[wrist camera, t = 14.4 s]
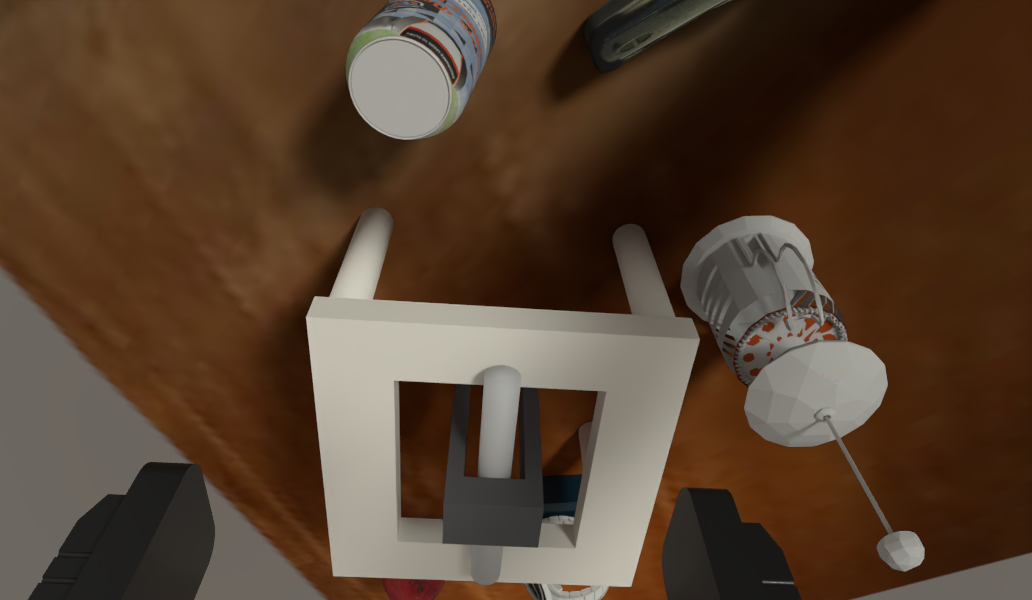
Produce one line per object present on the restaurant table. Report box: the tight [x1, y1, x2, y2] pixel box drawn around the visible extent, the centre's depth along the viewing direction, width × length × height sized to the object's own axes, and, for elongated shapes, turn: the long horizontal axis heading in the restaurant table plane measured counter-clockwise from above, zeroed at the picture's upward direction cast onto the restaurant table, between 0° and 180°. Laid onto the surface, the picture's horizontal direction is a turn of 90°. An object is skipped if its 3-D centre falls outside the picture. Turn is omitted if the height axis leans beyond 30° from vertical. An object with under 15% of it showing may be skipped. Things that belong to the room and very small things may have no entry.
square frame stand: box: [306, 207, 700, 587], centre depth 48 cm, size 21×22×16 cm
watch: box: [524, 474, 609, 600], centre depth 60 cm, size 6×8×11 cm
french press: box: [680, 216, 924, 571], centre depth 41 cm, size 10×12×25 cm
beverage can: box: [346, 0, 497, 140], centre depth 37 cm, size 6×7×12 cm
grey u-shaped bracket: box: [442, 384, 544, 548], centre depth 44 cm, size 6×4×11 cm, turn 86°
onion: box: [382, 578, 445, 600], centre depth 65 cm, size 6×6×8 cm
